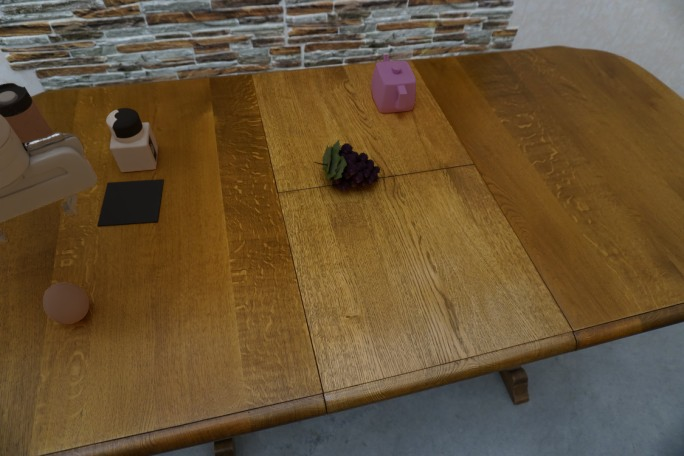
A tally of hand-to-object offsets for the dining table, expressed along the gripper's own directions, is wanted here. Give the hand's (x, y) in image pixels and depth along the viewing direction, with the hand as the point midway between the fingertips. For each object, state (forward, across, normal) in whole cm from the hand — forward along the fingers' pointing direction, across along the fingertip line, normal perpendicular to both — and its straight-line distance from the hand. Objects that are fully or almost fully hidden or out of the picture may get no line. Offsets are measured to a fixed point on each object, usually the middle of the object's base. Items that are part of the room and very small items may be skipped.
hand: (38, 226), depth 66 cm
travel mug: (+24, -2, -40) cm, 46 cm away
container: (+23, -19, -32) cm, 44 cm away
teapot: (+23, -83, -19) cm, 89 cm away
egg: (+24, +4, 0) cm, 24 cm away
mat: (+23, -13, -20) cm, 33 cm away
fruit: (+23, -56, -1) cm, 61 cm away
